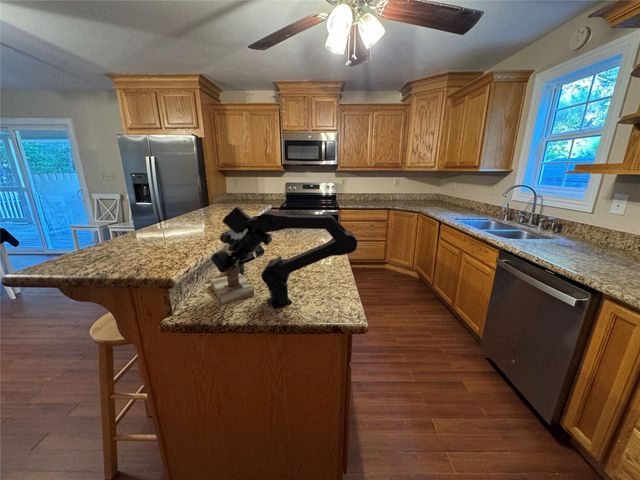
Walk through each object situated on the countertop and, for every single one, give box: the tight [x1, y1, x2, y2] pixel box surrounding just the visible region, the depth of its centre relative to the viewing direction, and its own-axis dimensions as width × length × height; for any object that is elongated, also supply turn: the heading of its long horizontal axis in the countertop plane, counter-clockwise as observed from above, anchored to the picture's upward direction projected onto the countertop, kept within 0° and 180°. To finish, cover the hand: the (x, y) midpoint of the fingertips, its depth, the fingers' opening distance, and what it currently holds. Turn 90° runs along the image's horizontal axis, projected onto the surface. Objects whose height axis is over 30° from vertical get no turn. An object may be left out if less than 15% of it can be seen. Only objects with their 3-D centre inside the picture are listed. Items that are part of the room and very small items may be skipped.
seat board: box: [210, 274, 255, 305], centre depth 91 cm, size 16×11×2 cm
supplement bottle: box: [227, 245, 246, 275], centre depth 105 cm, size 7×7×12 cm
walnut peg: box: [224, 251, 240, 288], centre depth 87 cm, size 5×5×12 cm
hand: (229, 267), depth 88 cm, fingers closed on walnut peg, 5 cm apart
